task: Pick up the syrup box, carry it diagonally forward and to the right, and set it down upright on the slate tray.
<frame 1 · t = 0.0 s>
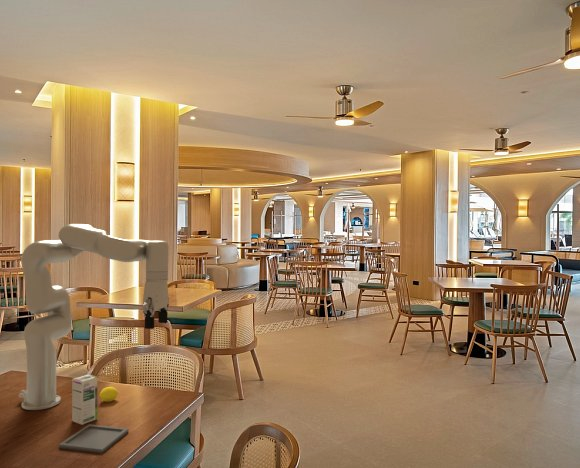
hand: (156, 325, 157), 31 cm above the table, fingers open, 9 cm apart
slate tray: (95, 440, 138), on the table
syrup box: (84, 420, 152), on the table
lemon: (108, 401, 169), on the table
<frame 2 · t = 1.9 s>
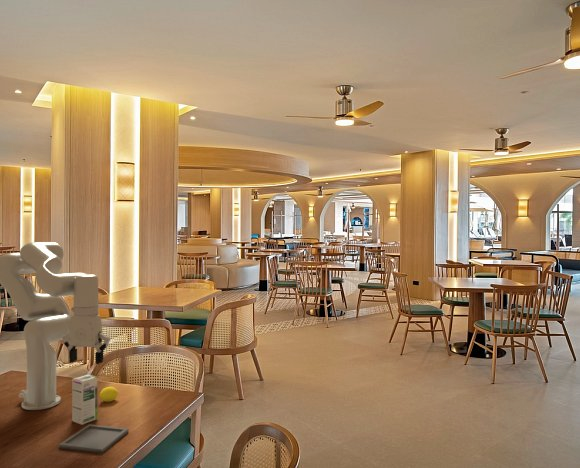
hand: (86, 362, 152), 20 cm above the table, fingers open, 9 cm apart
nothing on the table moved.
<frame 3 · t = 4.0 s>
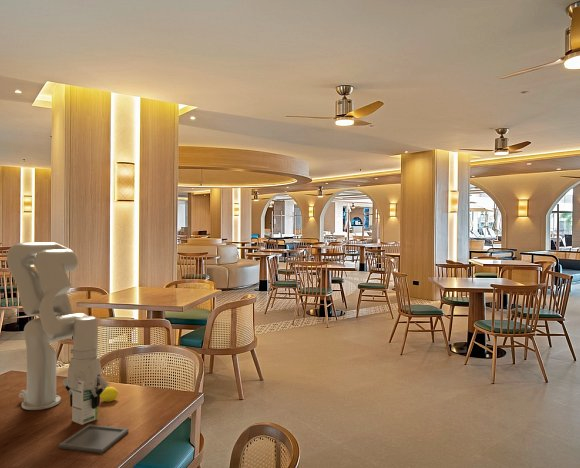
hand: (84, 405, 152), 5 cm above the table, fingers closed on syrup box, 7 cm apart
syrup box: (84, 420, 152), on the table, touching gripper
everything else where it was.
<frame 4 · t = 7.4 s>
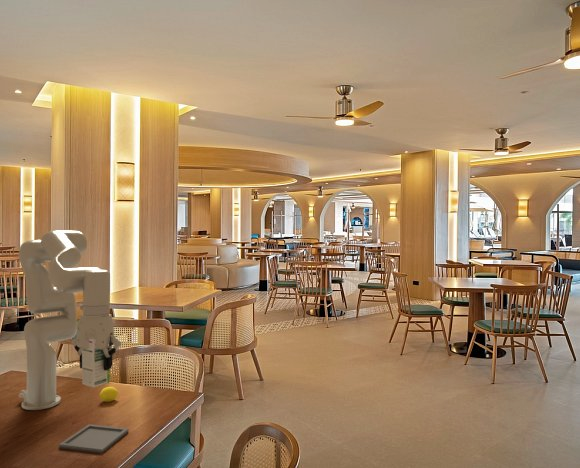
hand: (95, 367, 138), 22 cm above the table, fingers closed on syrup box, 7 cm apart
syrup box: (95, 384, 138), point 17 cm above the table, touching gripper
everything else where it was.
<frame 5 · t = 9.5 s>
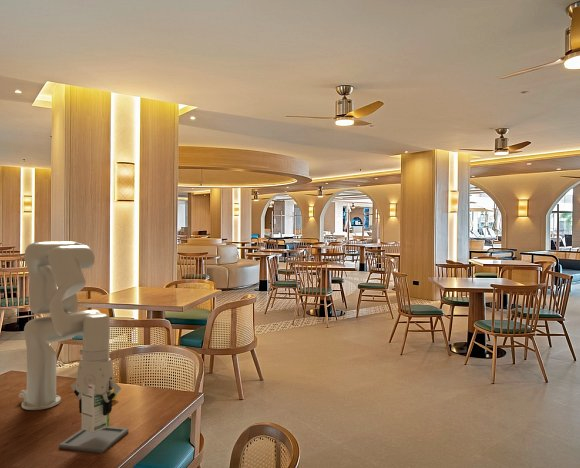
hand: (95, 412, 138), 9 cm above the table, fingers closed on syrup box, 7 cm apart
syrup box: (95, 428, 138), point 4 cm above the table, touching gripper
everything else where it was.
when the fingers open (7 cm above the table, at t = 11.0 s): syrup box drops 1 cm, resting on slate tray.
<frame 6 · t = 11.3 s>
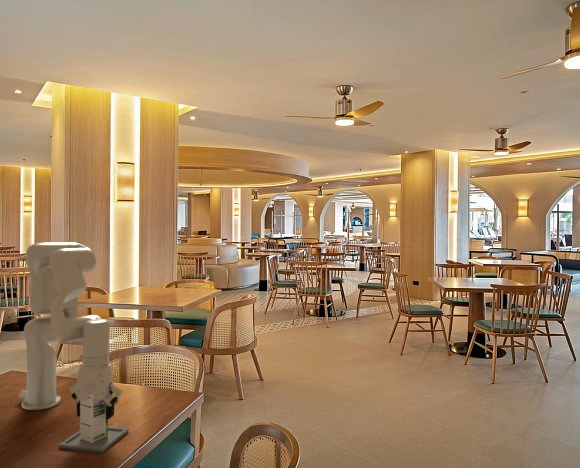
hand: (95, 416, 138), 7 cm above the table, fingers open, 9 cm apart
syrup box: (93, 438, 139), resting on slate tray
everything else where it was.
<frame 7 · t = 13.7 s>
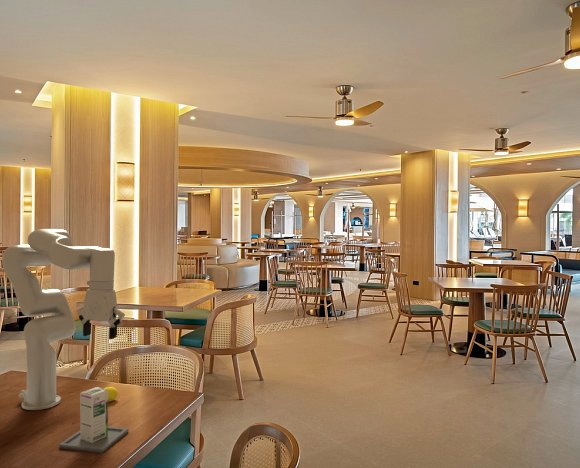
hand: (99, 336, 150), 29 cm above the table, fingers open, 9 cm apart
nothing on the table moved.
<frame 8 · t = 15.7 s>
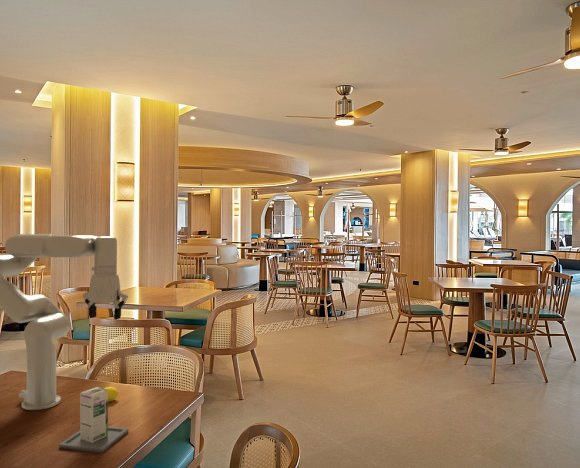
hand: (105, 318, 163), 32 cm above the table, fingers open, 9 cm apart
nothing on the table moved.
at the end: syrup box inside the target area on the slate tray (0.4 cm from its centre), point 0.4 cm above the slate tray's base; syrup box tilted 0°; the gripper is holding nothing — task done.
